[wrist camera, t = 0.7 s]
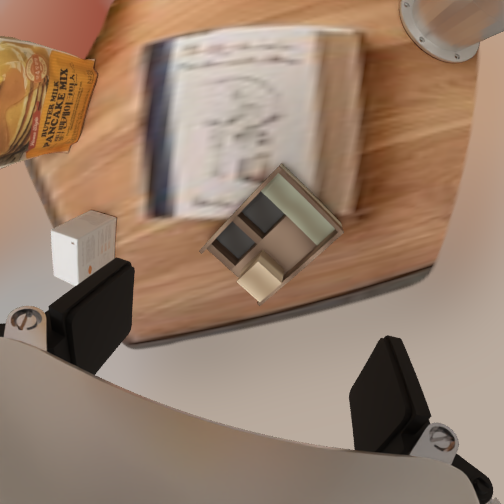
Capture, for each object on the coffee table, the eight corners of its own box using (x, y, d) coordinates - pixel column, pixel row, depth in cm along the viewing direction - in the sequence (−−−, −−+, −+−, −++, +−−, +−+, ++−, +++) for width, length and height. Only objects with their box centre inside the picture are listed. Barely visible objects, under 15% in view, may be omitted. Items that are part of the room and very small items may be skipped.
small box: (91, 208, 46) (49, 228, 37) (117, 216, 46) (77, 238, 36) (90, 251, 50) (52, 276, 40) (115, 261, 49) (78, 289, 40)
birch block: (262, 249, 41) (258, 261, 37) (284, 269, 41) (281, 283, 38) (242, 268, 42) (236, 281, 39) (264, 287, 43) (259, 302, 39)
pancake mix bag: (51, 153, 44) (-83, 191, 18) (80, 49, 36) (-61, 33, 11) (75, 164, 44) (-68, 210, 18) (108, 53, 36) (-43, 29, 11)
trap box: (281, 163, 39) (278, 166, 35) (340, 222, 40) (343, 232, 36) (209, 239, 45) (198, 251, 40) (264, 290, 46) (259, 306, 42)
